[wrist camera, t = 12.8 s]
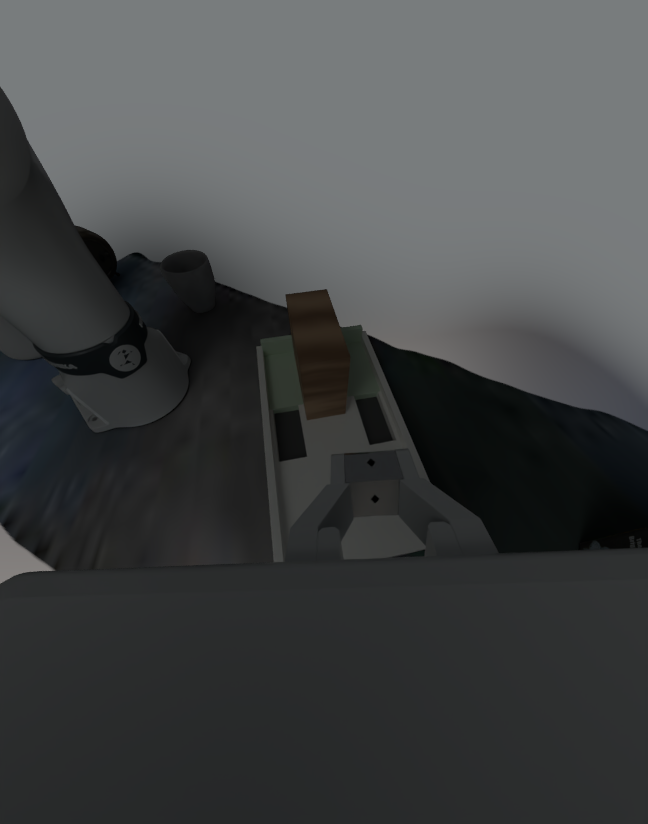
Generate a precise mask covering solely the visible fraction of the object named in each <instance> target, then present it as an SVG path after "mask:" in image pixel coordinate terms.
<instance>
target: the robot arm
mask: <svg viewBox="0 0 648 824" xmlns="http://www.w3.org/2000/svg"><path fill="white" fill-rule="evenodd" d="M0 315H1V316H2V317H3V318H4V319H5V320H7V321H8V322H9V323H10V324H11V325H12V326H14V327H15V328H16V329H17V330H18V331H20V332H21V333H22V334H23V335H24V336H25V337H27V338H28V339H29V340H30V341H31V342H33V346H34V348H35V349H36V351H37V352H38V353H40V355H41V356H42V357H43V358H44V359H45V360H46V361H47V362H48V363H50V364H52V365H53V366H54V367H56V368H57V369H58V371H59V373H60V375H58V376H56V377H54V378H52V382H53V383H54V384H55V385H56V386H57V387H58V388H60V389H61V390H62V391H63V392H64V393H66V394H67V395H68V394H70V396H71V397H72V399H73V401H74V402H75V404H76V406H77V408H78V409H79V411H80V413H81V414H82V416H83V418H84V420H85V421H86V423H87V425H88V426H89V428H90V429H91V430H92V431H94V432H96V433H98V432H103V431H107V430H110V429H113V428H117V427H136V426H141V425H145V424H148V423H151V422H153V421H155V420H157V419H159V418H161V417H163V416H165V415H166V414H168V413H169V412H170V411H171V410H173V409H174V408H175V407H176V406H177V405H178V404H179V403H180V401H181V400H182V399H183V397H184V396H185V394H186V391H187V389H188V384H189V378H188V368H189V366H190V363H191V359H190V358H189V357H188V356H187V355H186V354H183V353H180V352H177V351H175V350H174V349H173V347H172V346H171V345H170V343H169V342H168V341H167V339H166V338H165V337H164V335H163V334H162V333H161V332H160V331H159V330H158V329H157V330H155V329H154V328H151V327H146V325H145V324H144V322H143V321H142V318H141V317H140V315H139V314H138V313H137V311H136V310H134V309H133V307H132V306H131V305H130V304H129V303H128V302H126V301H124V300H123V299H122V297H121V296H120V294H119V293H118V291H117V290H116V288H115V287H114V285H113V284H112V283H111V281H110V280H109V278H108V277H107V275H106V274H105V273H104V271H103V270H102V268H101V267H100V265H99V264H98V263H97V261H96V260H95V258H94V257H93V255H92V254H91V252H90V251H89V249H88V248H87V246H86V245H85V243H84V241H83V240H82V238H81V236H80V235H79V233H78V231H77V229H76V227H75V226H74V224H73V222H72V220H71V218H70V216H69V214H68V212H67V210H66V208H65V206H64V204H63V202H62V200H61V199H60V197H59V195H58V193H57V191H56V189H55V188H54V186H53V184H52V182H51V180H50V178H49V177H48V175H47V173H46V171H45V170H44V168H43V166H42V164H41V163H40V161H39V159H38V158H37V156H36V154H35V152H34V151H33V149H32V147H31V146H30V144H29V142H28V140H27V138H26V135H25V132H24V129H23V127H22V124H21V122H20V120H19V118H18V116H17V114H16V112H15V110H14V108H13V106H12V104H11V103H10V101H9V99H8V98H7V96H6V95H5V93H4V91H3V90H2V89H1V87H0ZM385 515H399V517H400V518H401V519H402V520H403V521H404V523H405V524H406V525H407V526H408V527H409V528H410V529H411V530H412V531H413V533H414V534H415V535H416V536H417V537H418V538H419V539H420V540H421V541H422V543H423V544H424V545H425V546H426V547H425V556H421V557H396V558H371V559H346V560H344V558H343V551H342V545H341V541H342V539H343V538H344V536H345V534H346V532H347V530H348V528H349V527H350V525H351V523H352V521H353V519H354V517H367V516H385ZM0 824H648V548H623V549H598V550H572V551H547V552H522V553H499V552H498V551H497V549H496V547H495V545H494V543H493V541H492V539H491V538H490V536H489V534H488V532H487V530H486V528H485V526H484V524H483V523H482V521H481V519H480V518H479V517H477V516H476V515H474V514H473V513H472V512H470V511H469V510H467V509H466V508H465V507H463V506H462V505H461V504H459V503H458V502H456V501H455V500H454V499H452V498H451V497H449V496H448V495H447V494H445V493H444V492H442V491H441V490H440V489H438V488H437V487H435V486H434V485H433V484H431V483H430V482H428V481H427V480H426V479H424V478H419V475H418V472H417V470H416V467H415V464H414V462H413V459H412V456H411V454H410V451H409V449H408V448H406V449H395V450H387V451H375V452H359V453H344V454H332V455H331V478H330V484H328V485H326V486H325V487H324V488H323V490H322V491H321V492H320V493H319V494H318V496H317V497H316V498H315V499H314V500H313V502H312V503H311V504H310V505H309V506H308V508H307V509H306V510H305V511H304V512H303V513H302V515H301V516H300V517H299V518H298V519H297V521H296V522H295V523H294V524H293V525H292V527H291V528H290V533H289V539H288V545H287V551H286V557H285V562H268V563H243V564H218V565H193V566H168V567H143V568H118V569H92V570H65V571H37V572H27V573H22V574H19V575H16V576H13V577H12V578H10V579H8V580H6V581H5V582H3V583H1V584H0Z"/></svg>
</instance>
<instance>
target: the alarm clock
mask: <svg viewBox="0 0 648 824" xmlns="http://www.w3.org/2000/svg"><path fill="white" fill-rule="evenodd" d="M75 227H76V229H77V231H78V233H79V235H80V236H81V238H82V240H83V241H84V243H85V245H86V246H87V248H88V249H89V251H90V252H91V254H92V255H93V257H94V258H95V260H96V261H97V263H98V264H99V265H100V267H101V268H102V270H103V271H104V273H105V274H106V275H107V277H108V278H109V280H110V279H111V278H112V277H113V276H114V274H116V275H117V276H119V275H120V274H119V273H117V272H116V268H117V260H116V256H115V253H114V251H113V249H112V248H111V246H110V245H109V244H108V242H107V241H106V240H105V239H103V238H102V237H101V236H99V235H98V234H96V233H94V232H91V231H89V230H87V229H84V228H82V227H79V226H75Z"/></svg>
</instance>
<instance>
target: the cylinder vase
mask: <svg viewBox="0 0 648 824" xmlns="http://www.w3.org/2000/svg"><path fill="white" fill-rule="evenodd" d="M0 351H1V352H3V353H4V354H6V355H7V356H9V357H11V358H13V359H18V360H31V359H37V358H41V357H42V356H41V355H40V353H38V352H37V351H36V349H35V348H34V346H33V342H31V341H30V340H29V339H28V338H27V337H25V336H24V335H23V334H22V333H21V332H20V331H18V330H17V329H16V328H15V327H14V326H12V325H11V324H10V323H9V322H8V321H7V320H5V319H4V318H3V317H2V316H1V315H0Z"/></svg>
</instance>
